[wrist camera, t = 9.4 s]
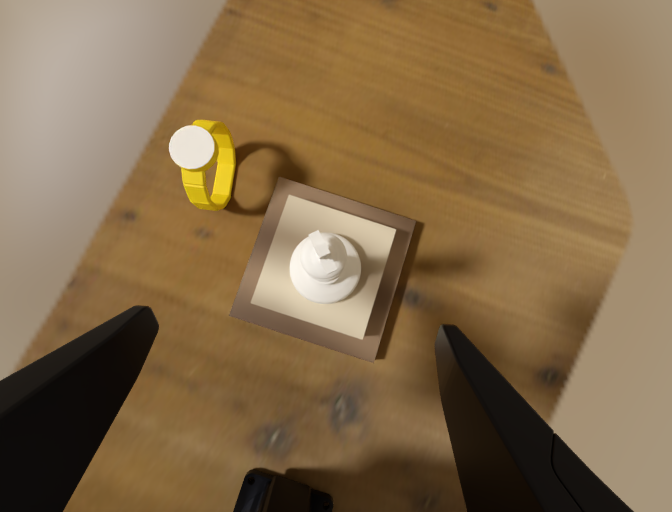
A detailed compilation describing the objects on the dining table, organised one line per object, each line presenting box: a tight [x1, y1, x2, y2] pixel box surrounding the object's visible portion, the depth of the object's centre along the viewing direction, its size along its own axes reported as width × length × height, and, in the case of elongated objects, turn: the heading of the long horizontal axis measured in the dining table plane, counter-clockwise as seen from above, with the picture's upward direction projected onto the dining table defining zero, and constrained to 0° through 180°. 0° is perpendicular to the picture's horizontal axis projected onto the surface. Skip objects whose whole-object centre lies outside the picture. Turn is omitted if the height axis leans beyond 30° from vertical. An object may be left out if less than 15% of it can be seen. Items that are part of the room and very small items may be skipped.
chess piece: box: [290, 230, 361, 304], centre depth 16 cm, size 5×5×10 cm
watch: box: [169, 120, 236, 211], centre depth 21 cm, size 6×3×6 cm, turn 173°
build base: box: [229, 177, 416, 363], centre depth 22 cm, size 11×11×2 cm
